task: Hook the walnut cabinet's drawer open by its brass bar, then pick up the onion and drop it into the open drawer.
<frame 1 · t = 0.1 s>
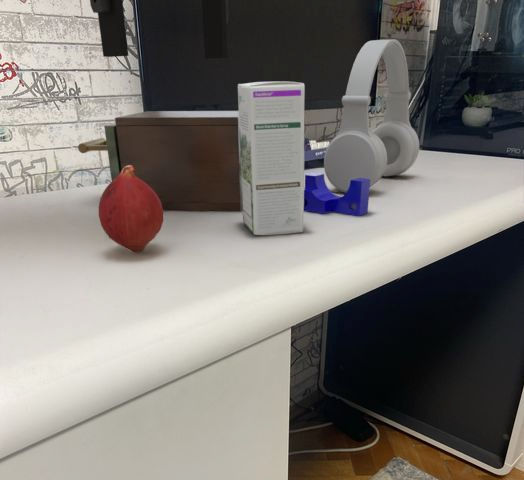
hand: (170, 58, 54), 17 cm above the table, tool pointing down, fingers open, 13 cm apart
headphones: (372, 184, 83), on the table
cabinet: (194, 199, 73), on the table
syrup box: (271, 230, 59), on the table
drawer: (156, 158, 71), point 5 cm above the table, slide at 0.5 cm
cable holder: (331, 212, 66), on the table
onion: (136, 254, 51), on the table
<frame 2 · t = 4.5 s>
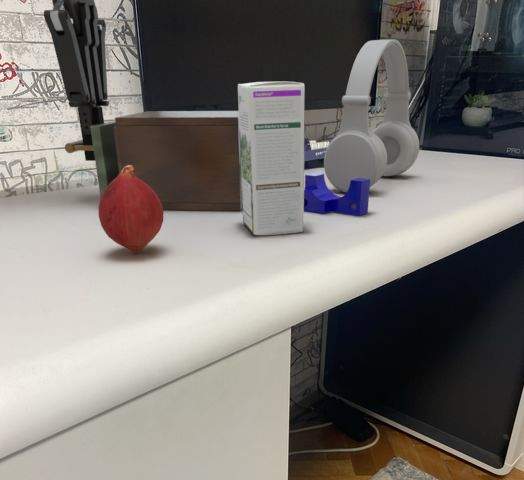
hand: (97, 159, 72), 5 cm above the table, tool pointing down, fingers closed
drawer: (143, 158, 71), point 5 cm above the table, slide at 2.3 cm, touching gripper
everything else where it was.
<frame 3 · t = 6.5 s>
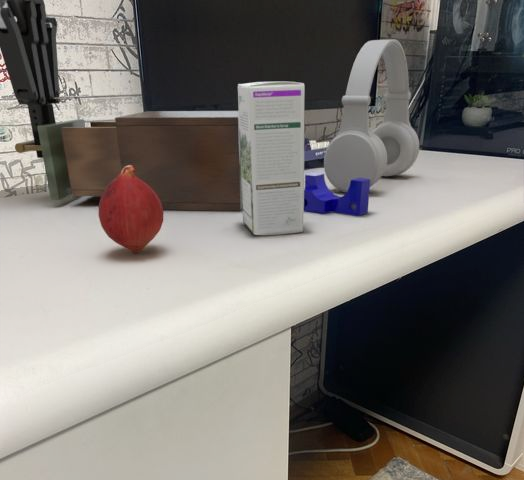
hand: (49, 156, 73), 6 cm above the table, tool pointing down, fingers closed
drawer: (95, 158, 72), point 5 cm above the table, slide at 9.0 cm
everything else where it was.
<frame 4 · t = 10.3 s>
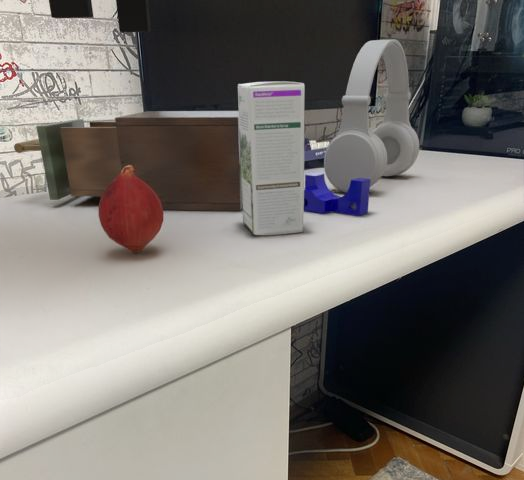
hand: (108, 26, 43), 19 cm above the table, tool pointing down, fingers open, 13 cm apart
nothing on the table moved.
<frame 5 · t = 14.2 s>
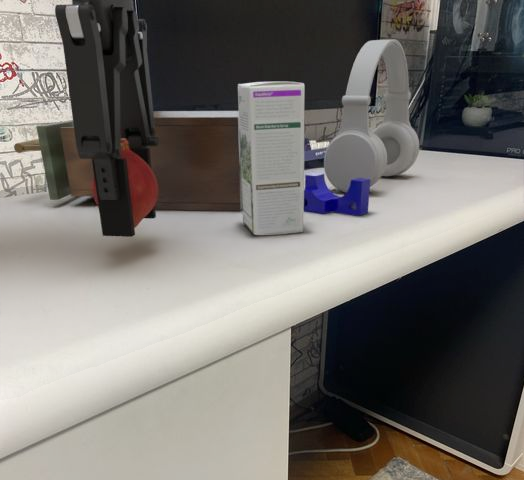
hand: (130, 225, 50), 3 cm above the table, tool pointing down, fingers closed on onion, 6 cm apart
onion: (130, 230, 51), point 2 cm above the table, touching gripper
everything else where it was.
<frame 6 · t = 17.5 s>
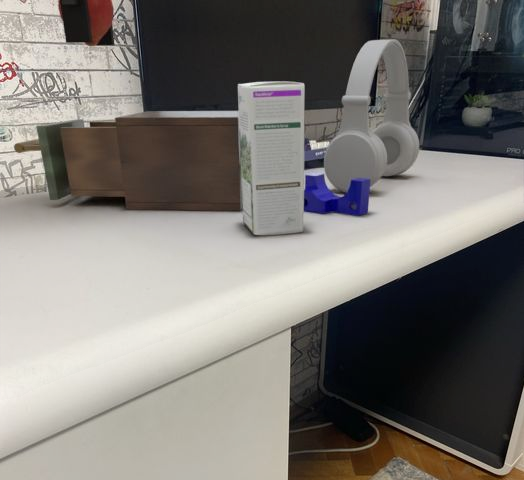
hand: (91, 43, 61), 19 cm above the table, tool pointing down, fingers closed on onion, 6 cm apart
onion: (91, 48, 61), point 18 cm above the table, touching gripper
everything else where it was.
when the fingers open (10 cm above the table, at t = 20.7 s): onion drops 7 cm, resting on drawer.
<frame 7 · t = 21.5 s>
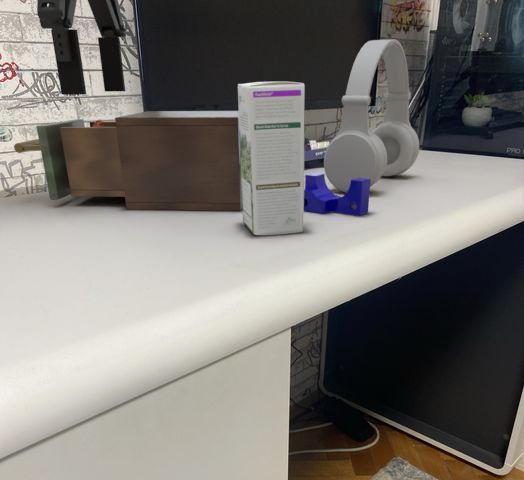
hand: (96, 93, 68), 13 cm above the table, tool pointing down, fingers open, 13 cm apart
drawer: (94, 158, 72), point 5 cm above the table, slide at 9.2 cm, touching onion
onion: (108, 184, 73), point 2 cm above the table, touching drawer
everything else where it was.
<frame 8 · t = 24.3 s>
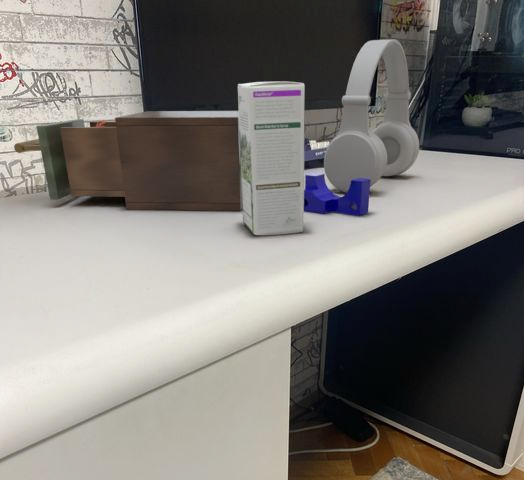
nothing on the table moved.
at the end: drawer slide at 9.1 cm; onion inside the target area in the drawer (0.1 cm from its centre), point 1.9 cm above the cabinet's base; the gripper is holding nothing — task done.
